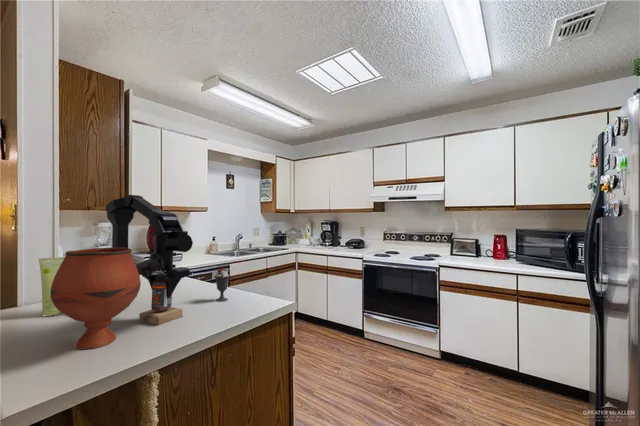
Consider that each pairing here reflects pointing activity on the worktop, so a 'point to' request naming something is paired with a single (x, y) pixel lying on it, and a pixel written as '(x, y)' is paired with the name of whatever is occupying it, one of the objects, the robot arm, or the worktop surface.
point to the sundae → (222, 282)
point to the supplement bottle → (160, 294)
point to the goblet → (95, 290)
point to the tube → (49, 283)
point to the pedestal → (160, 316)
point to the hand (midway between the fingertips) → (162, 296)
